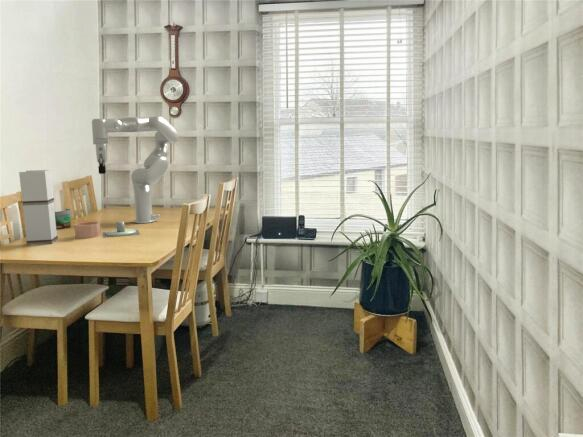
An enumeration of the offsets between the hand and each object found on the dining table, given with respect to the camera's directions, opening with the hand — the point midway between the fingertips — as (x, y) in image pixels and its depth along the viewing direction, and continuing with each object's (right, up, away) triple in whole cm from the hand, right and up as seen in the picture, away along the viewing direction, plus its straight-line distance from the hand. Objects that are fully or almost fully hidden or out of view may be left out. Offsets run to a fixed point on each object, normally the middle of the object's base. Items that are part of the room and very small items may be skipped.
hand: (102, 173), depth 290 cm
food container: (-24, -30, +9) cm, 40 cm away
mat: (+15, -33, -16) cm, 40 cm away
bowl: (0, -34, -20) cm, 40 cm away
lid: (+15, -33, -16) cm, 39 cm away
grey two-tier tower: (-18, -37, -31) cm, 51 cm away
